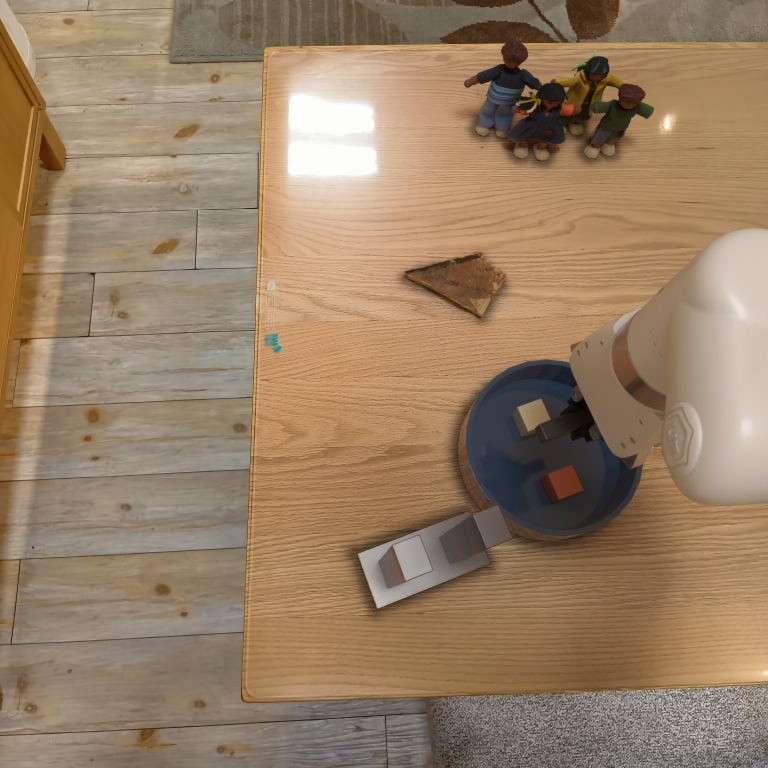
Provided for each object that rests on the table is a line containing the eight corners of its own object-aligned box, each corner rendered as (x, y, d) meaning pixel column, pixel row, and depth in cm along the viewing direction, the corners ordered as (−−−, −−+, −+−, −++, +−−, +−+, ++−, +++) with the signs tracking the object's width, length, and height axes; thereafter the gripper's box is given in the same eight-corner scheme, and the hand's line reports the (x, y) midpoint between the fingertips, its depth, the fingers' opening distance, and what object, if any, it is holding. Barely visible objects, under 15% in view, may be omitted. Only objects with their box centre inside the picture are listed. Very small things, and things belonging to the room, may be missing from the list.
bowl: (652, 504, 77) (675, 497, 72) (498, 566, 74) (510, 563, 69) (578, 354, 82) (594, 337, 77) (432, 406, 79) (438, 392, 74)
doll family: (465, 170, 90) (486, 98, 77) (452, 114, 92) (471, 35, 80) (631, 154, 92) (678, 82, 79) (614, 100, 95) (657, 21, 82)
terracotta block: (574, 494, 76) (584, 490, 73) (550, 504, 76) (559, 499, 73) (563, 469, 77) (572, 464, 74) (539, 478, 77) (547, 473, 74)
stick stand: (488, 564, 74) (541, 548, 55) (376, 609, 72) (390, 609, 53) (467, 512, 76) (511, 479, 57) (356, 554, 73) (364, 535, 54)
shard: (402, 277, 84) (404, 270, 82) (433, 232, 86) (435, 224, 85) (479, 321, 83) (482, 315, 81) (508, 274, 85) (512, 267, 83)
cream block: (544, 429, 78) (552, 422, 76) (521, 438, 78) (528, 431, 75) (533, 405, 79) (541, 398, 76) (510, 414, 79) (517, 406, 76)
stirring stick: (635, 408, 65) (642, 404, 63) (541, 443, 63) (546, 440, 61) (628, 393, 65) (635, 388, 64) (534, 428, 63) (539, 423, 62)
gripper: (769, 441, 47) (650, 485, 64) (663, 247, 51) (579, 338, 68) (674, 479, 45) (580, 513, 63) (573, 277, 49) (511, 362, 67)
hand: (580, 422), depth 65 cm, fingers closed on stirring stick, 1 cm apart
